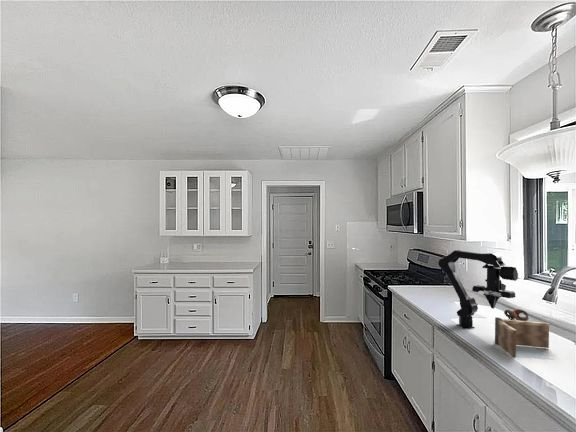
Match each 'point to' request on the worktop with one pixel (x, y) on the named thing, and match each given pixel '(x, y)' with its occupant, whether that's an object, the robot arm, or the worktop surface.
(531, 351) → the card
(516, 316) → the pottery mug
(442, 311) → the worktop surface
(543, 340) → the fence swing panel
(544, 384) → the worktop surface
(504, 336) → the panel
